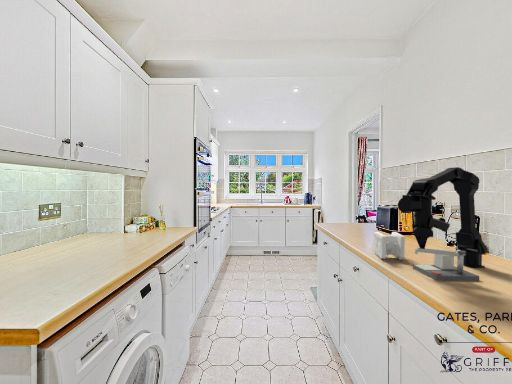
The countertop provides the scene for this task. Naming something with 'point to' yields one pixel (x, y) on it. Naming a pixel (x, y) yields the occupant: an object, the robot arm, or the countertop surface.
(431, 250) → the grey bracket
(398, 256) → the cable organizer
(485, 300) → the countertop surface
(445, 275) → the grey flat panel
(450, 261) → the light grey block
